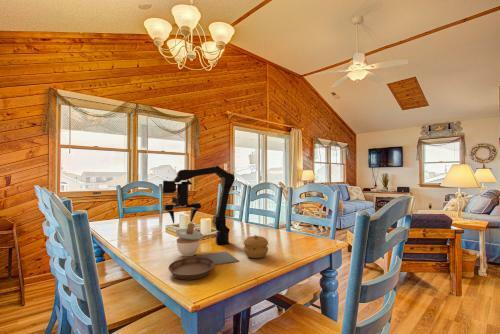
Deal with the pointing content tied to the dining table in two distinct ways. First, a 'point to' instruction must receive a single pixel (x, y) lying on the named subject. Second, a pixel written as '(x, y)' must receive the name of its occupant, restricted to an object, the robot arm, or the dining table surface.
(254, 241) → the pot
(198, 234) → the lid
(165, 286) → the dining table surface
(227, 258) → the mat
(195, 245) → the lidded jar
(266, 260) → the dining table surface
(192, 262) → the plant saucer
